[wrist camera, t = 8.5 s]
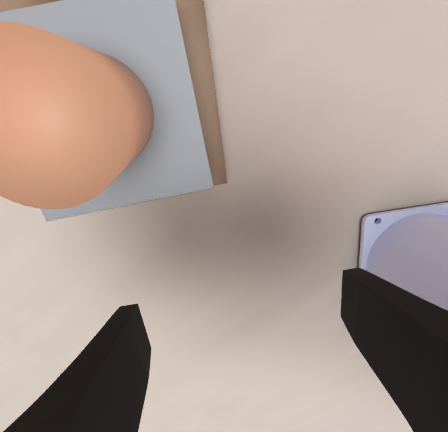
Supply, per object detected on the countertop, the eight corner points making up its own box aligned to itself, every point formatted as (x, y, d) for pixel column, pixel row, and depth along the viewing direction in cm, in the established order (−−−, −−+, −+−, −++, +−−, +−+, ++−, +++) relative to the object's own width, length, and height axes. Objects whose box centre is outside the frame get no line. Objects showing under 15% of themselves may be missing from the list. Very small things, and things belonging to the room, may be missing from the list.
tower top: (176, 5, 13) (170, -21, 10) (210, 173, 16) (213, 187, 13) (5, 39, 13) (-48, 21, 10) (73, 200, 16) (46, 221, 13)
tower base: (198, -7, 15) (198, -32, 12) (222, 171, 19) (226, 183, 16) (13, 16, 15) (-29, -4, 12) (75, 193, 19) (54, 209, 16)
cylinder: (146, 50, 11) (106, 20, 6) (159, 163, 12) (137, 204, 8) (27, 52, 10) (-107, 22, 6) (58, 168, 12) (-25, 213, 8)
